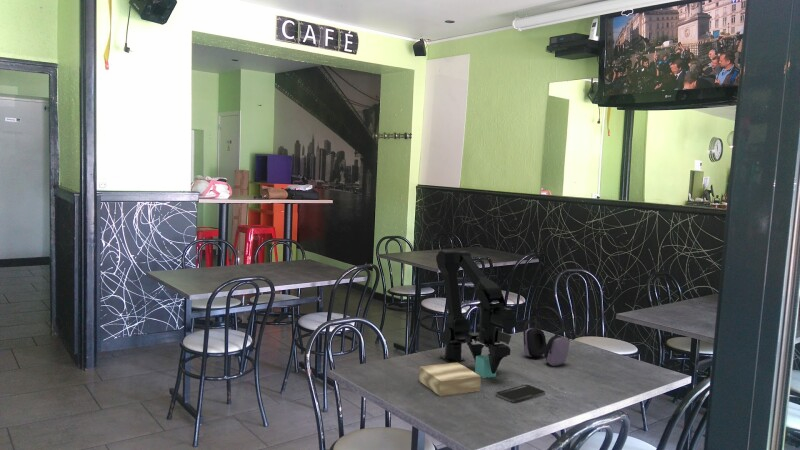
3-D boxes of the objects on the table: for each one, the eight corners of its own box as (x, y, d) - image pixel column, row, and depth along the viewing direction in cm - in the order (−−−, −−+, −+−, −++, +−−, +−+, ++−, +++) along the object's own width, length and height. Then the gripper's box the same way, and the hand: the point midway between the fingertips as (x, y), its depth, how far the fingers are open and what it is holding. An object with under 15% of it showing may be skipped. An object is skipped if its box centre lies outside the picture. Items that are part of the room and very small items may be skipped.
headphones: (536, 352, 221) (539, 301, 220) (571, 365, 207) (575, 310, 206) (518, 356, 216) (522, 303, 214) (553, 369, 202) (557, 313, 200)
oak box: (419, 381, 185) (419, 366, 184) (456, 377, 191) (457, 362, 190) (440, 397, 172) (441, 381, 172) (480, 392, 178) (481, 376, 178)
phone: (494, 392, 175) (527, 384, 184) (493, 396, 175) (527, 387, 184) (513, 401, 168) (547, 391, 177) (513, 405, 168) (546, 395, 177)
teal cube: (474, 373, 194) (475, 355, 194) (487, 371, 196) (488, 354, 196) (483, 378, 190) (484, 360, 189) (495, 376, 192) (496, 358, 192)
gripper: (525, 328, 187) (522, 375, 188) (492, 315, 204) (489, 358, 205) (496, 331, 182) (494, 379, 183) (465, 317, 199) (462, 361, 200)
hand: (485, 369), depth 193 cm, fingers open, 9 cm apart
